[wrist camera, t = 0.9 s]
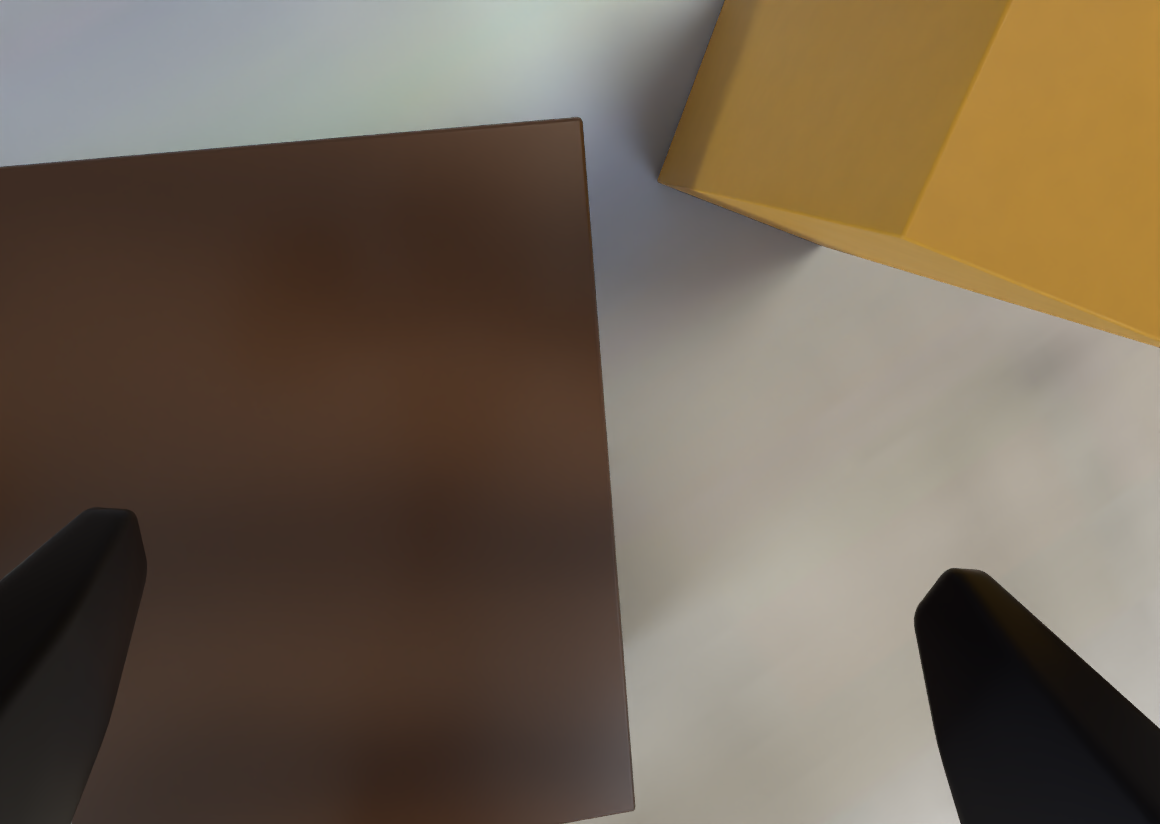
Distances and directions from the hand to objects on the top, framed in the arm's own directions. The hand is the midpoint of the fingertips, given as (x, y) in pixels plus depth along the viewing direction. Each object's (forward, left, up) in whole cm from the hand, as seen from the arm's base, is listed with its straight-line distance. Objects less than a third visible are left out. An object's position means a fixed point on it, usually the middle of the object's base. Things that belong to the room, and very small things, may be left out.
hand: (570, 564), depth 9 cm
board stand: (-4, +5, -14) cm, 15 cm away
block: (+4, -8, -14) cm, 16 cm away
